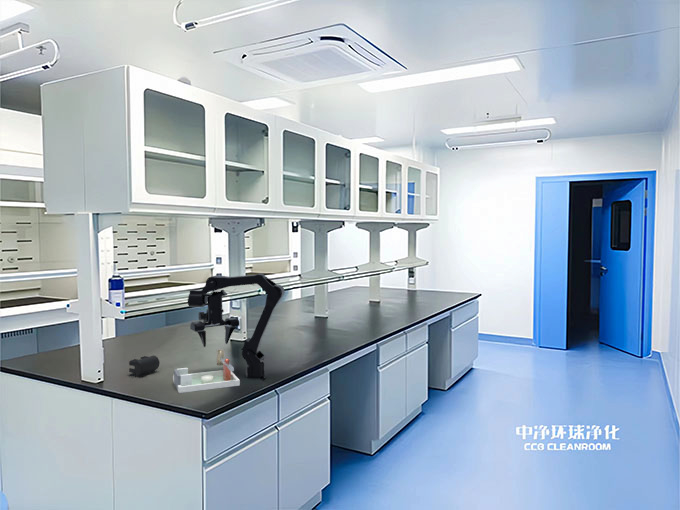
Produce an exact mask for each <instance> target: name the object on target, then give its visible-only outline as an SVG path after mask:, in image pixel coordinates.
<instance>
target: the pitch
mask: <svg viewBox="0 0 680 510" xmlns="http://www.w3.org/2000/svg"><path fill="white" fill-rule="evenodd" d="M204 375H212V376H213V383H205V384H201V377H202V376H204ZM172 382H173V385H174V386H175V388H176V391H177V392H178V394H182V393H183V394H185V393H193V392H198V391H206V390H207V391H208V390H214V389H215V390H217V389H222V388H230V387H239V386H240V385H241V384H240V383H241V380H240V379H239V378H238V376H236V374H235V373H234V371H231V380H230V381H225V380H224V379H223V369H222V370H212V371H204V372H202V371H201V372H195V373H189V368H188V367H183V368H182V367H180V368H174V369H173V375H172Z"/></svg>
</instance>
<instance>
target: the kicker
mask: <svg viewBox="0 0 680 510" xmlns="http://www.w3.org/2000/svg"><path fill="white" fill-rule="evenodd" d="M216 365H217V366H222V368H223V369H222V370H223V379H224V380H225V381H230V380H231V371H232V372H234V371H235V368H234V366H233V365H232V364H231V362H230V359H229V358H225V349H223V348H218V349H216Z"/></svg>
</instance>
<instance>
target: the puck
mask: <svg viewBox="0 0 680 510" xmlns="http://www.w3.org/2000/svg"><path fill="white" fill-rule="evenodd" d="M205 383H213V376H212V375H204V376H202V377H201V384H205Z"/></svg>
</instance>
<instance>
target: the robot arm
mask: <svg viewBox="0 0 680 510" xmlns="http://www.w3.org/2000/svg"><path fill="white" fill-rule="evenodd" d="M249 285H258V286H259V287H260V288H261V289H262V290H263V291H264V292H265V293H266V294H267V295H266V298H265V305H264V308H263V310H262V312H261V315H260V318H259V319H258V321H257V323H256V326H255V329H254V331H253V333H252V336H251V337H247V338H246V339H245V341H244V344H243V347H242V348H241V356H242V358H243V360H245V363H246V366H245V377H246V378H248V379H249V378H250V379H251V378H253V379H257V378H258V379H260V380H266V376H265V362H264V359H265V357H266V355H265V354H264V353H263V352H262V351H261V345H262V339H263V337H264V335H265V333H266V330H267V327H268V325H269V322H270V321H271V318H272V316H273V313H274V311H275V309H276V307H277V306H278V304H279V303H280V301H281V300H282V299H283V298H284V295H285V293H286V291H285V289H284V286H282V285H281V284H277V283H276V282H274V281H273V280H271V279H270V278H269V277H267V276H266V275H265V274H264V273H257V274H248V275H247V274H246V275H238V276H228V275H227V276H225V275H219V274H218V275H213V276H209V277H208V278H207V279H206V280H205V285H204V286H203V288H202V289H201V290H199V289H197V290H196V289H190V290H189V293H188V297H187V305H188V307H190V308H204V307H205V306H206V305H207V309H206V312H204V311H200V312H198V321H191V323H190V325H189V328H190V330H192V331H193V332H195V333H197V334H198V337H200V341H201V343H202V346H203V347H204V348H206V346H207V337H206V336H207V334H206V333H207V332H206V330H205V328H213V327H220V326H224V329H225V333H224V334H225V336H224V341H225V344H226V345H228V343H229V341H230V339H231V336H232V334H233V332H234V331H235V329H237V327H239V326H240V320H239V318H236V317H226V318H225V319H223V313H224V312H225V311H224V310H225V309H223V297H225V296H227V295H228V293H227V292H226V291H225V290H224V289H225V288H229V287H237V286H249ZM218 290H220V291H218ZM210 292H211V293H210ZM202 321H203V322H202Z"/></svg>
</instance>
